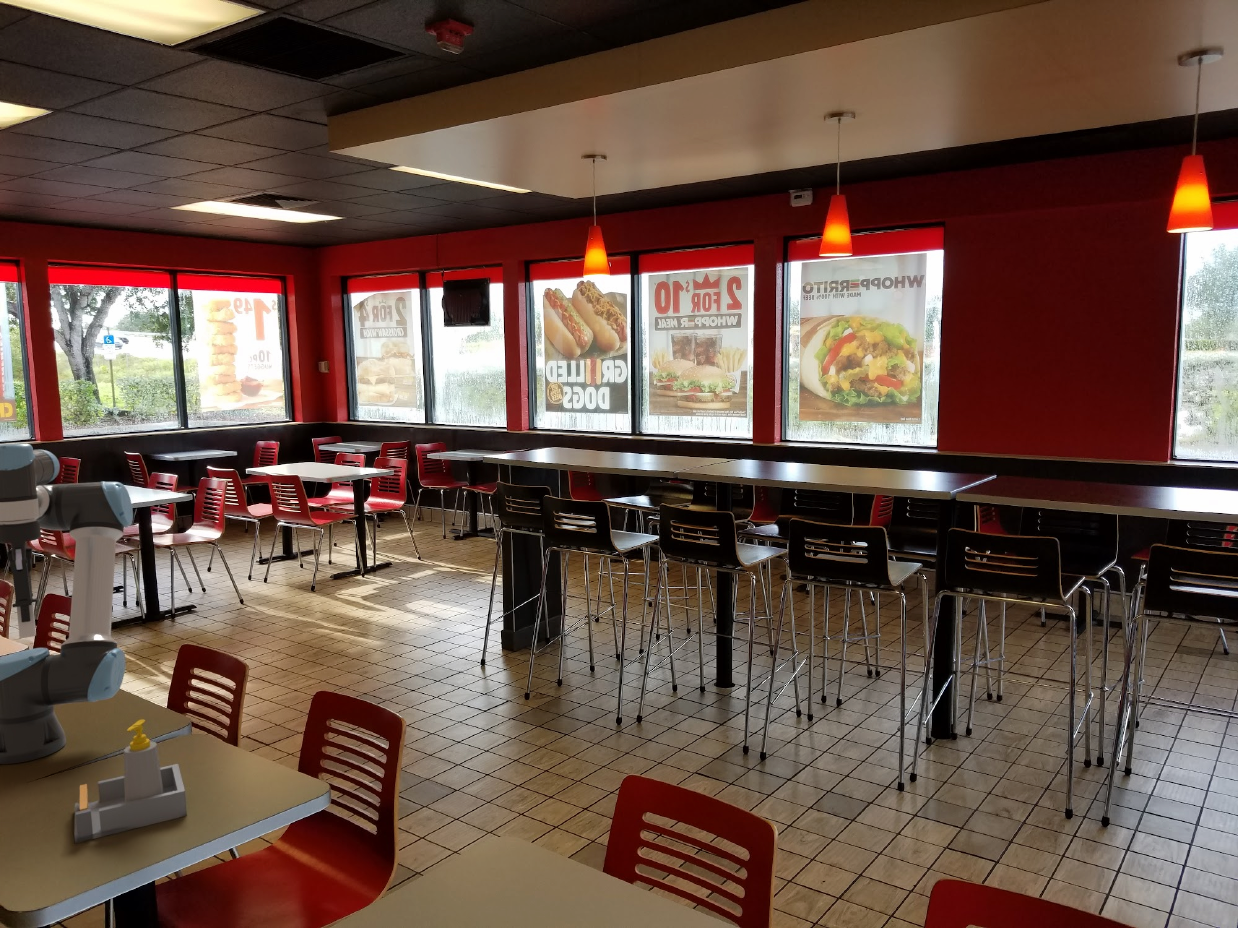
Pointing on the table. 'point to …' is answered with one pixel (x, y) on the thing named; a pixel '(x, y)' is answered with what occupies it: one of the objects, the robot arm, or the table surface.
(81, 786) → the orange long flat block
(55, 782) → the table surface
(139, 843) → the table surface
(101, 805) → the box
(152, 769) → the soap bottle
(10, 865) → the table surface
